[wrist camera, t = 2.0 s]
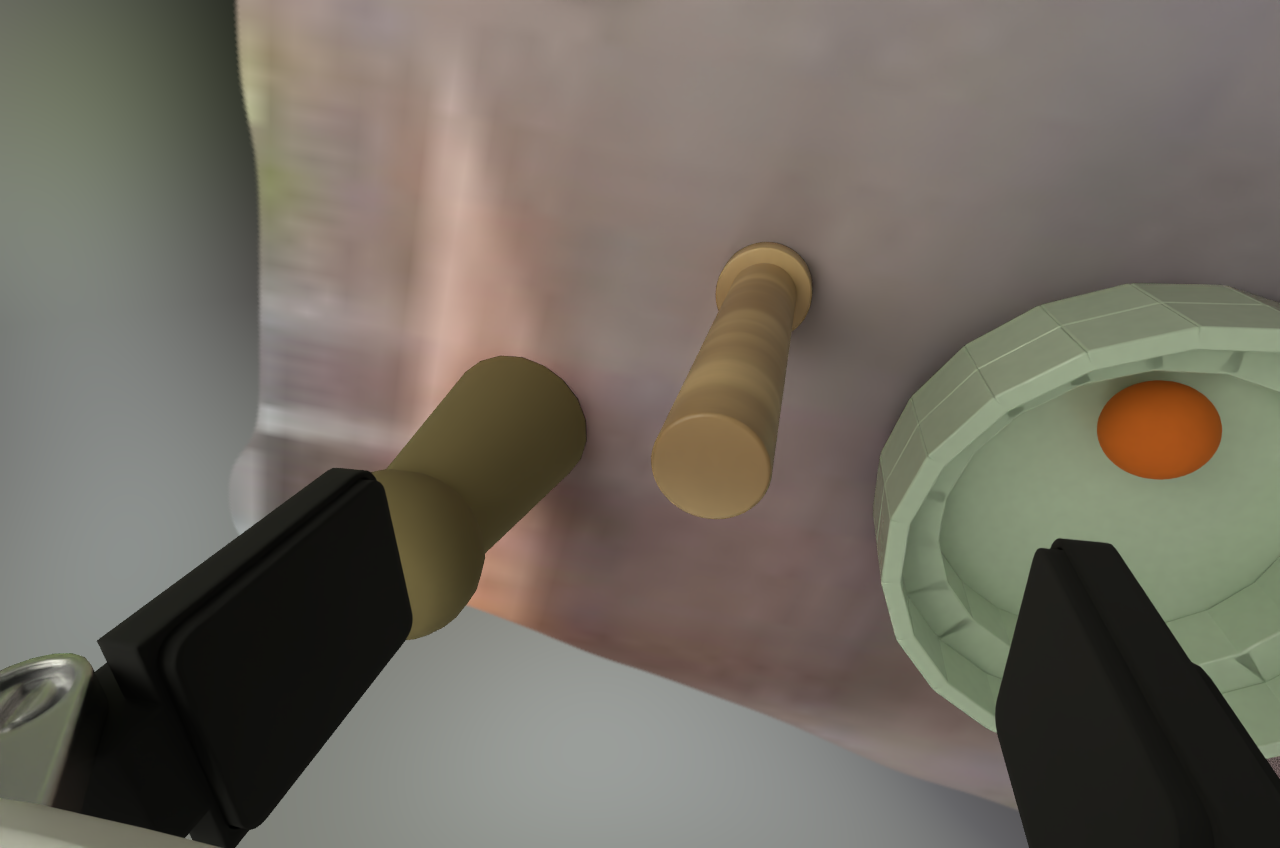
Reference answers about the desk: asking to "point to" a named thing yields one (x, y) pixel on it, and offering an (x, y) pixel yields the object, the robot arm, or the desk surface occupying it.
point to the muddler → (735, 388)
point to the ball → (1159, 429)
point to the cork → (476, 478)
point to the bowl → (1090, 488)
